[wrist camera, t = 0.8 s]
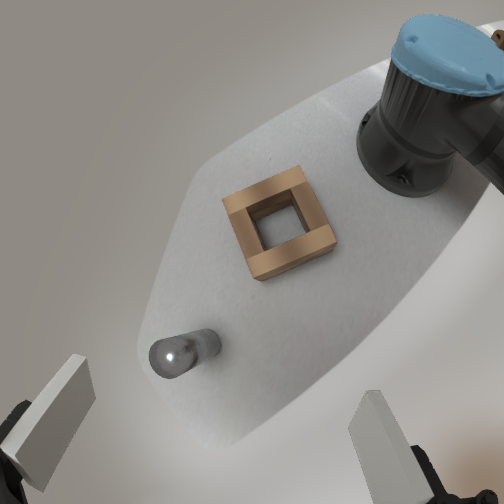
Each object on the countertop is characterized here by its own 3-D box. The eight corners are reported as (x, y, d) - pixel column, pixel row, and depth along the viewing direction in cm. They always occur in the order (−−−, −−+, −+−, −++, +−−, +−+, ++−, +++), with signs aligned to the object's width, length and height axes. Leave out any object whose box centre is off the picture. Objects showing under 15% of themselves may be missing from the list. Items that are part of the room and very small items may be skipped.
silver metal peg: (214, 324, 38) (176, 334, 26) (225, 352, 37) (191, 373, 25) (188, 334, 38) (143, 345, 27) (199, 361, 37) (157, 382, 26)
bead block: (300, 184, 39) (299, 165, 33) (332, 250, 37) (337, 241, 31) (233, 213, 40) (221, 199, 34) (261, 281, 38) (253, 278, 32)
